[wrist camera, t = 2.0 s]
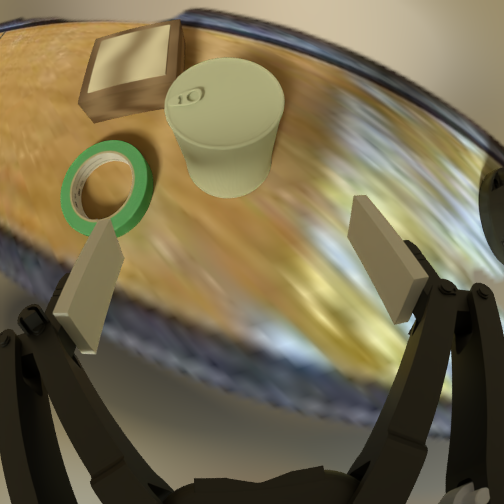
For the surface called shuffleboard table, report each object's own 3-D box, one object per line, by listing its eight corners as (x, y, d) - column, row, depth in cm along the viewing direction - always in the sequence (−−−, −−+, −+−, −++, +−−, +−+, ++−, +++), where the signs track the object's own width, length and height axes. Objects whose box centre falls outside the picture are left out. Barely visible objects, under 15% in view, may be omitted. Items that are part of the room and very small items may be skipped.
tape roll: (82, 150, 31) (73, 141, 29) (162, 148, 32) (156, 138, 29) (63, 236, 30) (51, 232, 27) (146, 244, 30) (137, 239, 28)
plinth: (185, 43, 34) (179, 18, 28) (183, 105, 32) (175, 79, 27) (107, 60, 33) (95, 38, 28) (94, 123, 32) (77, 102, 26)
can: (187, 127, 32) (166, 58, 20) (267, 121, 32) (278, 51, 20) (187, 201, 31) (158, 153, 19) (275, 196, 31) (293, 143, 19)
